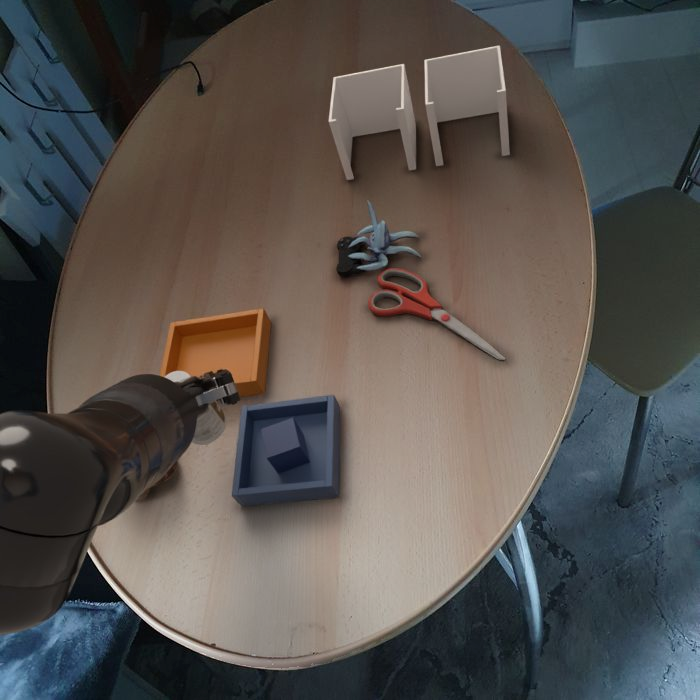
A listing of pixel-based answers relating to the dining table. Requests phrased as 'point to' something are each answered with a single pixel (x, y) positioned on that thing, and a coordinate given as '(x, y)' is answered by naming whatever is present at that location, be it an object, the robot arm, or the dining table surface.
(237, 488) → the blue tray
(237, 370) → the amber tray
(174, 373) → the pill bottle
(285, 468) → the blue block
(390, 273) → the scissors
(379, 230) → the figurine
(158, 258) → the dining table surface
